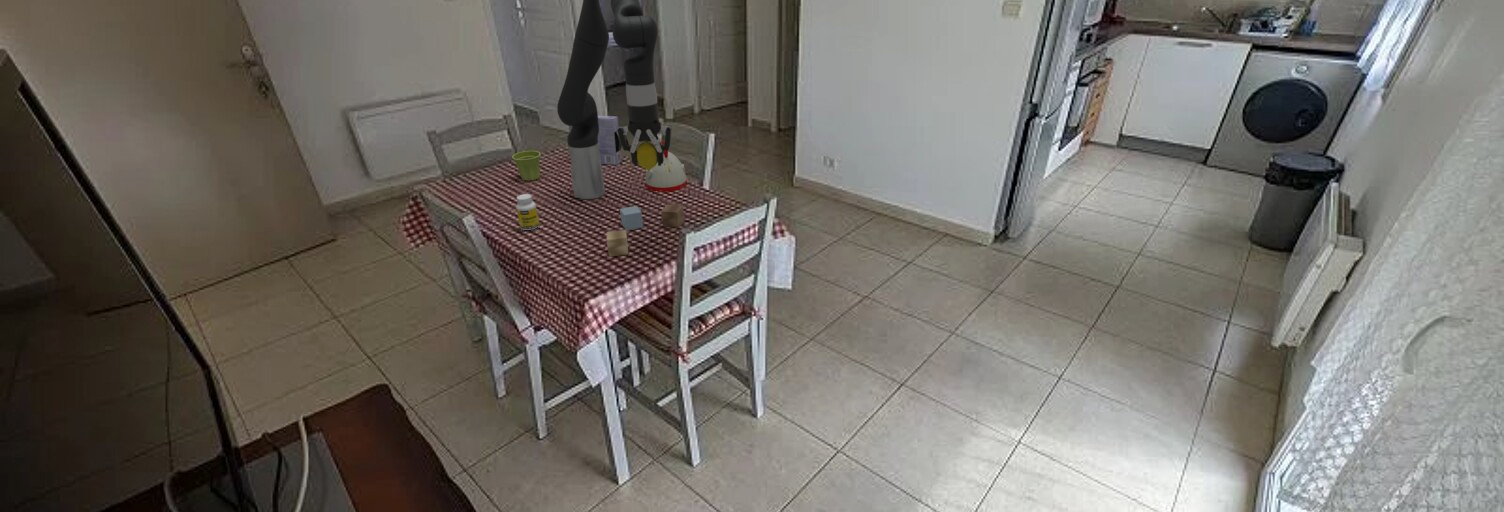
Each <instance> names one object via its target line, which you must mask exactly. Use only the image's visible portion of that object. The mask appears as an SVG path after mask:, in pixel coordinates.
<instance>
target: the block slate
mask: <svg viewBox="0 0 1504 512" xmlns="http://www.w3.org/2000/svg"><path fill="white" fill-rule="evenodd" d="M619 210H620V211H619V212H620V218H621V219H620V220H621V225H622V227H623V228H624V230H626V232H627V231H632V230H637V229H643V228H644V224H643V215H642V213H643V212H642V210H641V209H640V208H639V207H638V205H634V206H629V207H624V208H620V209H619Z"/></svg>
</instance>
